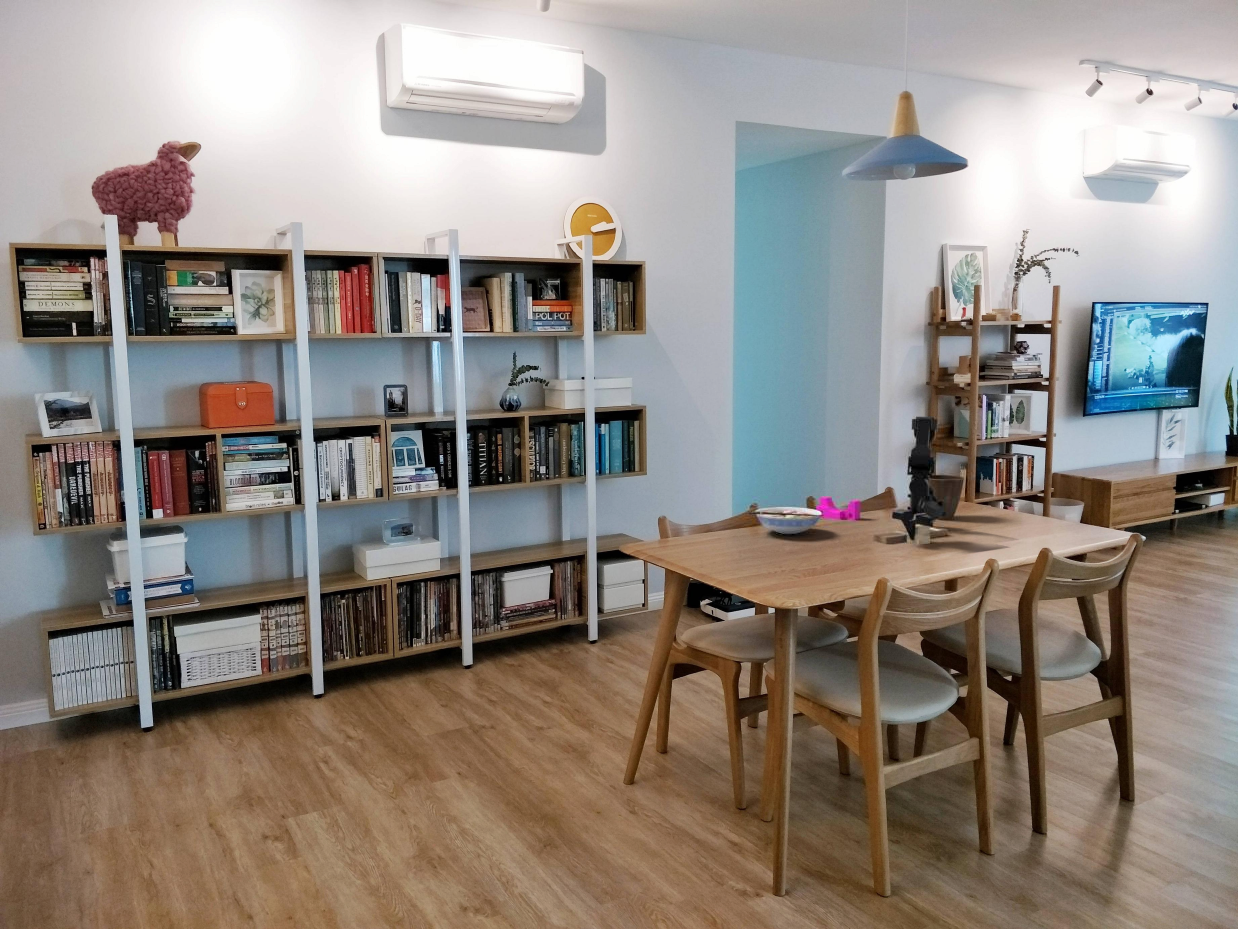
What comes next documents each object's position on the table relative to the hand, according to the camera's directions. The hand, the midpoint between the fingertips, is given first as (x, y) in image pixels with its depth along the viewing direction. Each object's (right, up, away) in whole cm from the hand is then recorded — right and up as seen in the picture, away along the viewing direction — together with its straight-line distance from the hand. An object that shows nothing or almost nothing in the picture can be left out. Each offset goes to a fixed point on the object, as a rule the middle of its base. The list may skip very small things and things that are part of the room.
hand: (918, 539), depth 316 cm
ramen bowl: (-39, 0, +18) cm, 43 cm away
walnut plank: (0, 0, +8) cm, 8 cm away
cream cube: (0, -1, 0) cm, 1 cm away
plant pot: (+21, +4, +42) cm, 47 cm away
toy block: (-16, +4, +46) cm, 49 cm away
